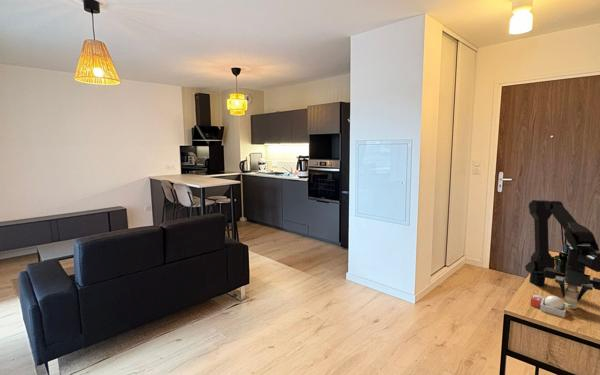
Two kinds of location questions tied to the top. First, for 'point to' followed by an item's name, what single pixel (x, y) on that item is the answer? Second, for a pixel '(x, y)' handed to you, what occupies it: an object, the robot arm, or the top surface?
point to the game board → (554, 310)
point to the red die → (535, 301)
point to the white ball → (554, 302)
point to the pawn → (571, 294)
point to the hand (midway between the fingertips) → (570, 298)
